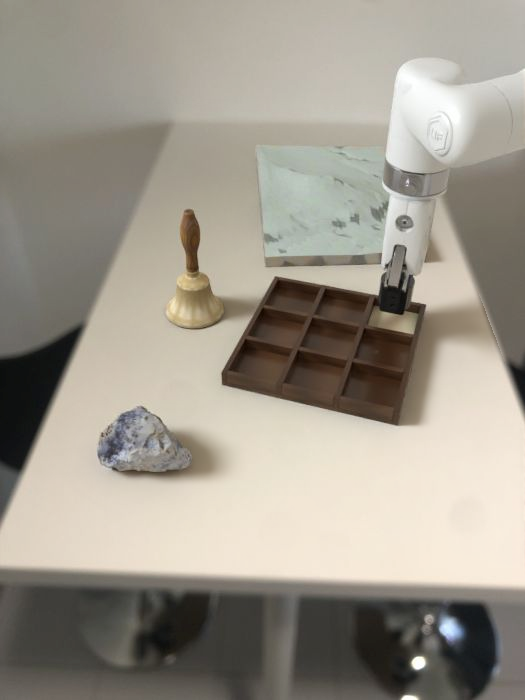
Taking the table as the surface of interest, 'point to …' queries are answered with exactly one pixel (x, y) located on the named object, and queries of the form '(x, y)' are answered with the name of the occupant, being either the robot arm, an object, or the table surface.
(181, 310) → the hand bell
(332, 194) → the decorative slab
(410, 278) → the dark grey cylinder
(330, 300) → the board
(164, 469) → the mineral specimen
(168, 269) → the table surface
